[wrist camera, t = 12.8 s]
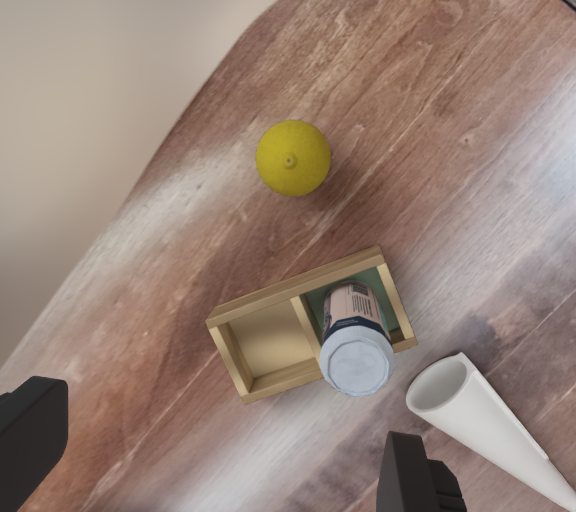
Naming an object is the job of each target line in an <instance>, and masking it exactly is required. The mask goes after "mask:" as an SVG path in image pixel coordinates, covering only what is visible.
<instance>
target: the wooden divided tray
mask: <svg viewBox="0 0 576 512" xmlns="http://www.w3.org/2000/svg"><path fill="white" fill-rule="evenodd" d="M348 280H356V281H361V282H364V283H366V284H368V285H370V286H371V287H372V288H373V289H374V290H375V292H376V293H377V294H378V296H379V298H380V301H381V305H382V309H383V312H384V316H385V320H386V324H387V328H388V332H389V336H390V339H391V343H392V347H393V351H394V353H397V352H400V351H403V350H406V349H409V348H412V347H415V346H418V343H417V340H416V338H415V335H414V332H413V330H412V327H411V325H410V322H409V320H408V317H407V314H406V312H405V309H404V307H403V304H402V302H401V299H400V297H399V294H398V292H397V289H396V287H395V284H394V281H393V279H392V276H391V274H390V271H389V269H388V266H387V264H386V261H385V259H384V256H383V254H382V251H381V249H380V246H379V244H377V245H375V246H372V247H369V248H367V249H364V250H362V251H359V252H356V253H354V254H351V255H349V256H346V257H343V258H341V259H338V260H336V261H333V262H330V263H328V264H325V265H323V266H320V267H317V268H315V269H312V270H310V271H307V272H304V273H302V274H299V275H297V276H294V277H291V278H289V279H286V280H284V281H281V282H278V283H276V284H273V285H271V286H268V287H265V288H263V289H260V290H258V291H255V292H252V293H250V294H247V295H245V296H242V297H239V298H237V299H234V300H232V301H229V302H226V303H224V304H221V305H219V306H216V307H215V308H214V309H213V311H212V312H211V313H210V315H209V316H208V318H207V319H206V320H205V323H206V325H207V327H208V329H209V331H210V333H211V335H212V337H213V340H214V342H215V344H216V346H217V348H218V350H219V352H220V354H221V356H222V359H223V361H224V363H225V365H226V367H227V369H228V371H229V373H230V375H231V378H232V380H233V382H234V384H235V386H236V388H237V390H238V392H239V394H240V396H241V399H242V401H243V403H244V405H245V404H248V403H251V402H254V401H257V400H260V399H263V398H266V397H269V396H272V395H275V394H277V393H280V392H283V391H286V390H289V389H292V388H295V387H298V386H301V385H304V384H307V383H310V382H313V381H315V380H318V379H321V378H324V376H323V374H322V372H321V369H320V363H319V359H320V352H321V348H322V339H323V326H324V301H325V298H326V296H327V294H328V292H329V291H330V290H331V289H332V288H333V287H334V286H336V285H337V284H339V283H341V282H344V281H348Z"/></svg>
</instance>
